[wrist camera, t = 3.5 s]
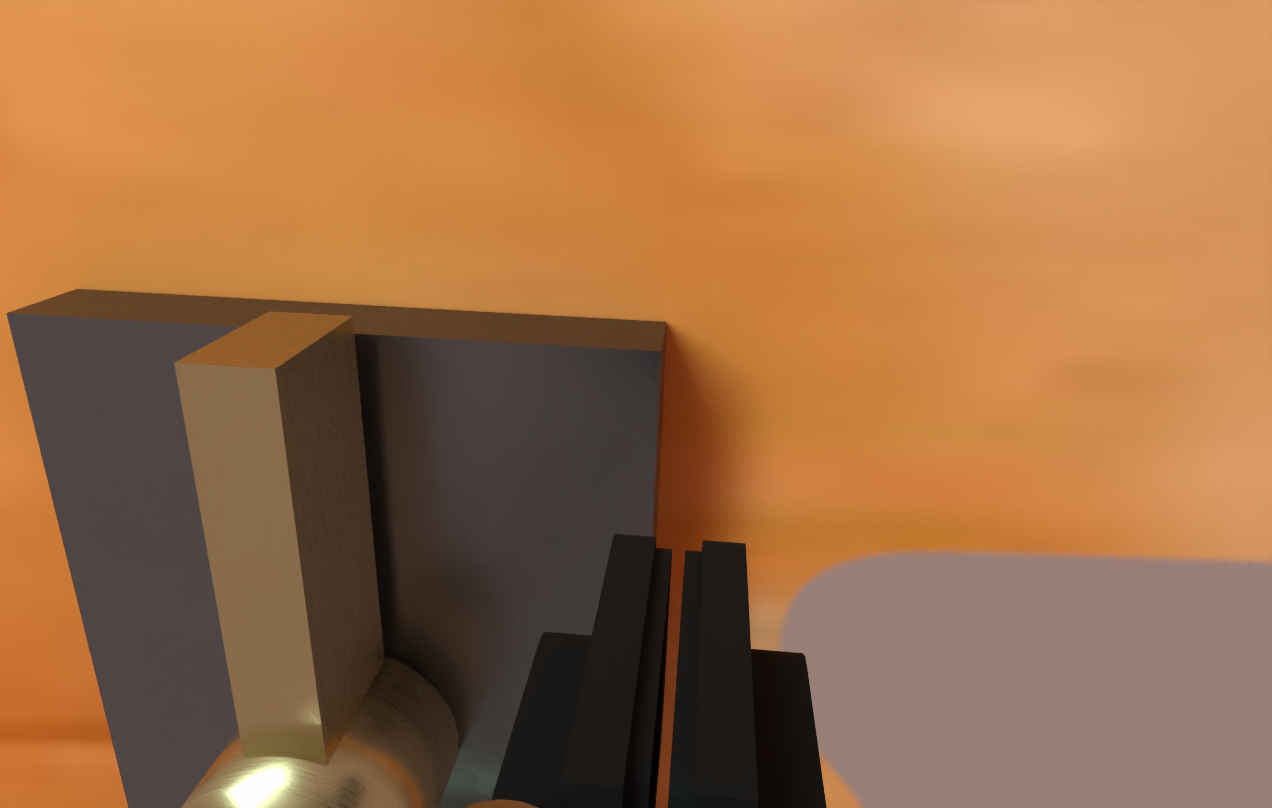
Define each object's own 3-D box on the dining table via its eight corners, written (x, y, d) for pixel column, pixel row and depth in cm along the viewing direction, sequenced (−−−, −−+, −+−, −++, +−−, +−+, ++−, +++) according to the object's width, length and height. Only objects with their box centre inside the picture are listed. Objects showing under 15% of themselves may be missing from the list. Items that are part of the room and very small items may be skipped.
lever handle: (463, 814, 20) (398, 1007, 16) (277, 796, 21) (166, 980, 16) (435, 317, 16) (335, 406, 12) (197, 303, 16) (17, 385, 12)
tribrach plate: (632, 1018, 26) (612, 1255, 21) (222, 972, 27) (104, 1189, 22) (666, 321, 18) (646, 425, 13) (76, 289, 19) (-168, 373, 14)
